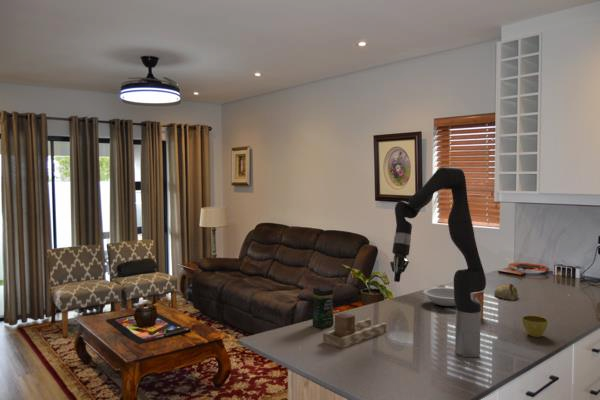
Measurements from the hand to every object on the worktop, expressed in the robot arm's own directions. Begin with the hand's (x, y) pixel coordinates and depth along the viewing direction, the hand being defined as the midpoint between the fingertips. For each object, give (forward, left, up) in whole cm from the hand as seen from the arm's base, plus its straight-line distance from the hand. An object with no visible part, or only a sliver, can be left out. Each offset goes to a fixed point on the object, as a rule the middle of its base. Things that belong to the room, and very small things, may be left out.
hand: (396, 281), depth 211 cm
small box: (+21, -41, -22) cm, 51 cm away
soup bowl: (+43, -34, -22) cm, 59 cm away
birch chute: (-9, +19, -22) cm, 31 cm away
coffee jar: (+6, +33, -22) cm, 40 cm away
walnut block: (-14, +24, -21) cm, 35 cm away
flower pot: (-5, -59, -22) cm, 63 cm away
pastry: (+60, -73, -23) cm, 97 cm away
